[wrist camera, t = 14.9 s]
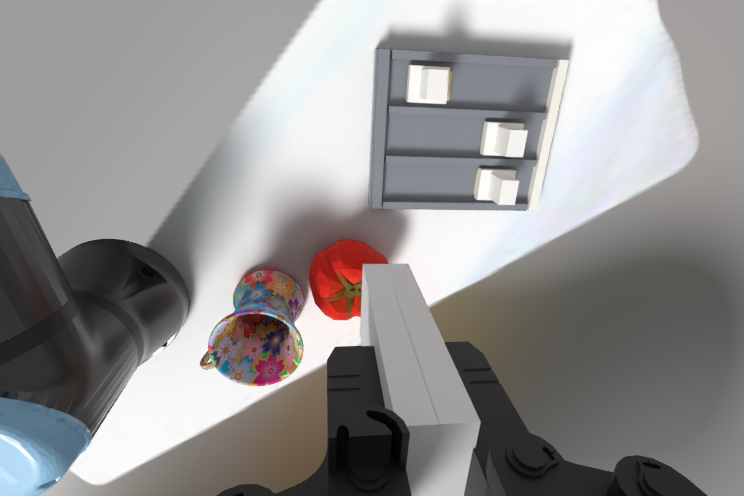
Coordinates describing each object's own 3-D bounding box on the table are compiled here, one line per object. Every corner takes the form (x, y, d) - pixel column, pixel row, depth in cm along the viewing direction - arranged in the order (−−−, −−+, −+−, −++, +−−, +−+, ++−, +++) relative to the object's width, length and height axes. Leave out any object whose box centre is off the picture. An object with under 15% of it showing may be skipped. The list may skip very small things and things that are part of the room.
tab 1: (405, 101, 40) (414, 103, 36) (408, 65, 39) (417, 63, 35) (443, 103, 41) (455, 105, 37) (447, 67, 39) (460, 65, 35)
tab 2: (479, 153, 43) (494, 160, 39) (484, 121, 42) (500, 125, 38) (514, 154, 44) (532, 161, 40) (519, 122, 42) (539, 126, 38)
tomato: (321, 303, 50) (320, 338, 43) (302, 241, 46) (299, 268, 40) (392, 287, 50) (402, 320, 43) (379, 224, 47) (388, 248, 40)
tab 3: (474, 197, 45) (487, 208, 41) (478, 168, 44) (493, 176, 40) (507, 198, 46) (523, 208, 42) (512, 169, 44) (530, 177, 40)
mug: (282, 250, 47) (271, 294, 37) (321, 308, 50) (320, 362, 41) (196, 295, 48) (164, 349, 38) (240, 348, 51) (221, 410, 42)
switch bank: (368, 203, 45) (369, 208, 44) (374, 50, 39) (377, 48, 37) (530, 205, 48) (538, 210, 46) (560, 61, 42) (571, 60, 40)
